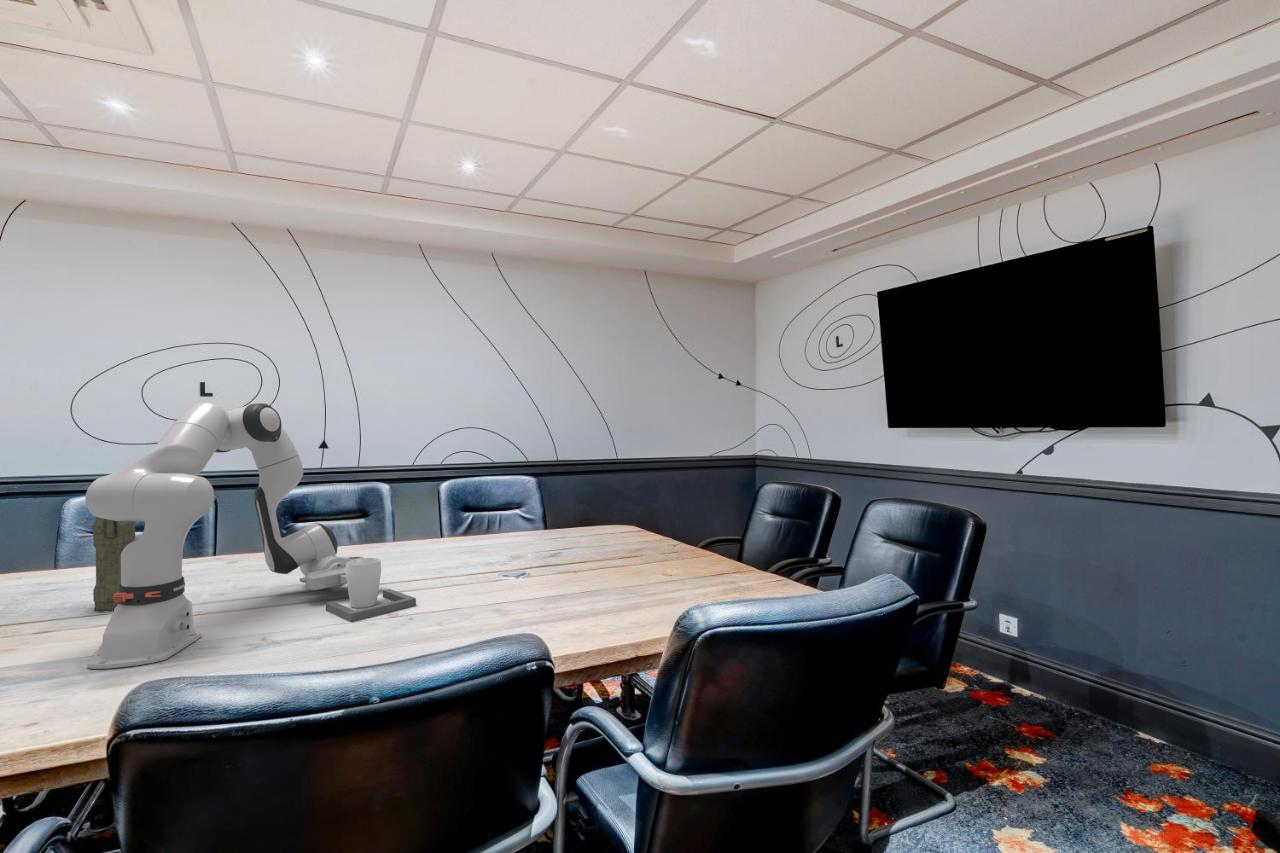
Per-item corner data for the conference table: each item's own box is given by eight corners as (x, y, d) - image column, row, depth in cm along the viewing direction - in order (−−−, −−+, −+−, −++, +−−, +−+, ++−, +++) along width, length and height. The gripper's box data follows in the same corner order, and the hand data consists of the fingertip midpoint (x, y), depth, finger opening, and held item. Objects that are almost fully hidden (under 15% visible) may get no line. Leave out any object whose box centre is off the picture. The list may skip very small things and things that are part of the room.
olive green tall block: (91, 615, 161) (90, 481, 161) (95, 604, 171) (94, 478, 170) (135, 609, 167) (134, 479, 166) (136, 599, 176) (135, 476, 175)
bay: (325, 610, 166) (325, 602, 166) (389, 595, 180) (389, 588, 180) (350, 622, 157) (350, 614, 157) (416, 605, 171) (416, 598, 171)
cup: (371, 609, 167) (371, 565, 167) (339, 609, 167) (338, 565, 167) (387, 600, 176) (387, 557, 176) (356, 599, 176) (356, 557, 176)
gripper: (296, 568, 175) (318, 576, 166) (367, 555, 191) (390, 562, 182) (296, 590, 175) (318, 599, 166) (367, 575, 191) (390, 583, 182)
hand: (356, 580), depth 174 cm, fingers closed, pressing on cup
